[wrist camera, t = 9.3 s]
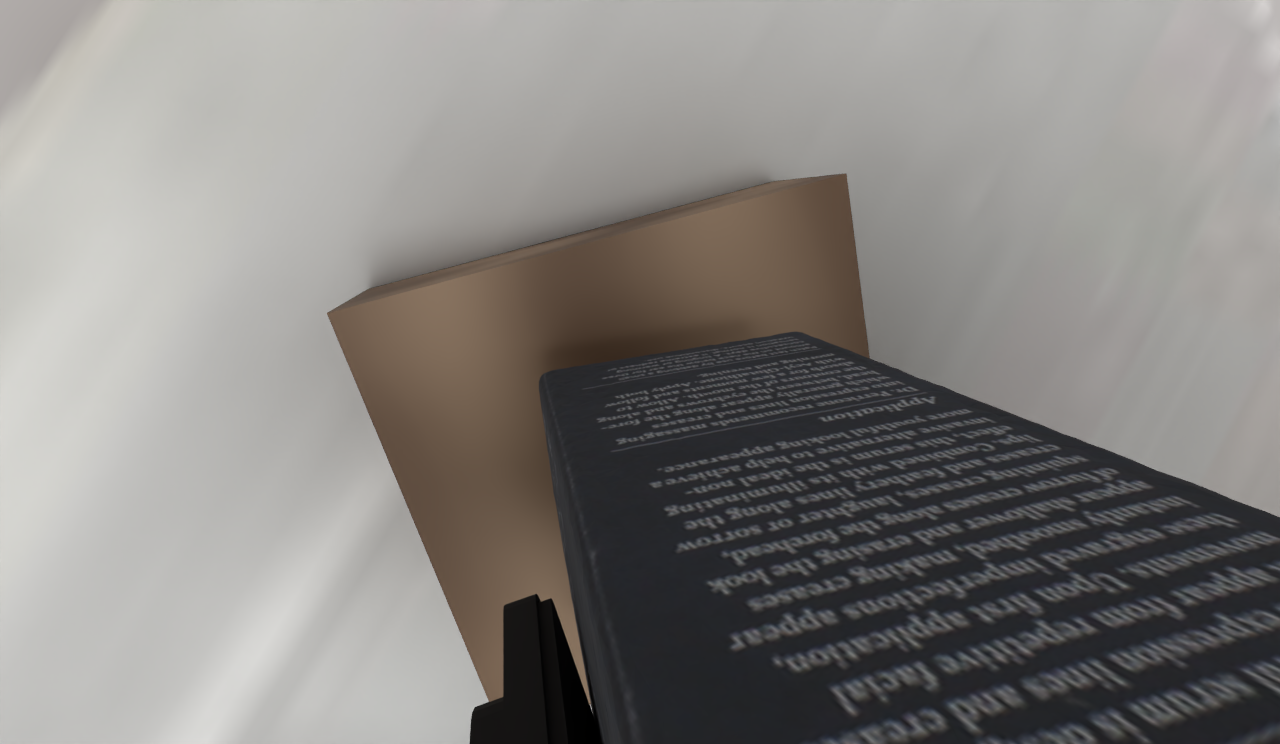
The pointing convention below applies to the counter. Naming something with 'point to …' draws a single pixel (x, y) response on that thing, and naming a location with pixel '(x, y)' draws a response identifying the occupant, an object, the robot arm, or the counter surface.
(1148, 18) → the counter surface
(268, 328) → the counter surface
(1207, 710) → the box
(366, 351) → the base
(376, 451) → the counter surface
